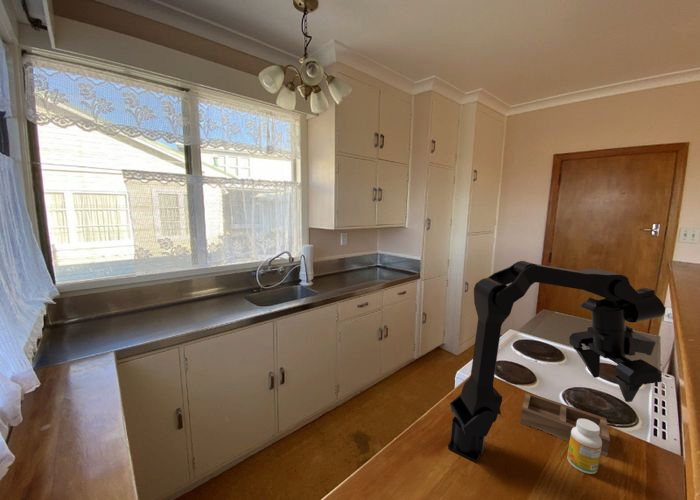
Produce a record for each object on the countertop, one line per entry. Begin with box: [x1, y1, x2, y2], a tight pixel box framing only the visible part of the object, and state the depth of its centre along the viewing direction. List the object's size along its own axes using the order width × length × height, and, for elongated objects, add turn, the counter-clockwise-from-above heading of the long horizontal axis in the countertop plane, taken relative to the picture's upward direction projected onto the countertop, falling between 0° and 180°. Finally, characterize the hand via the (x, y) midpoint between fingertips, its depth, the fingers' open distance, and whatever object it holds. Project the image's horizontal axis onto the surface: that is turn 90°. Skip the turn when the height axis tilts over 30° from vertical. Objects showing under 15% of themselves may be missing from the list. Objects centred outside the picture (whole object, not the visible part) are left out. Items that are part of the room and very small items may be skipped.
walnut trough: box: [519, 391, 611, 457], centre depth 78 cm, size 9×18×4 cm, turn 54°
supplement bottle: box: [566, 419, 602, 475], centre depth 67 cm, size 5×5×10 cm
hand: (611, 388), depth 71 cm, fingers open, 9 cm apart
